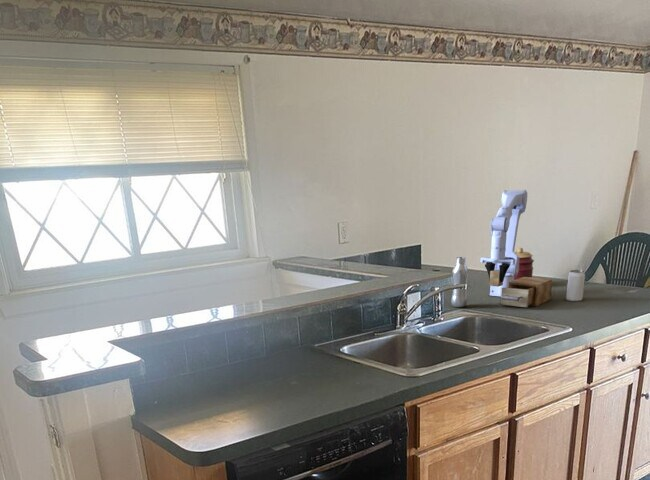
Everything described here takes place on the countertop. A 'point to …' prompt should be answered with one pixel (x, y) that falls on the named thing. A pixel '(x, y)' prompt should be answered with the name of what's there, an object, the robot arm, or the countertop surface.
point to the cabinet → (541, 286)
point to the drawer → (518, 295)
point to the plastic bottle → (459, 282)
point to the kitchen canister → (524, 264)
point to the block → (495, 278)
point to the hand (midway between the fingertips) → (496, 281)
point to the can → (575, 285)
